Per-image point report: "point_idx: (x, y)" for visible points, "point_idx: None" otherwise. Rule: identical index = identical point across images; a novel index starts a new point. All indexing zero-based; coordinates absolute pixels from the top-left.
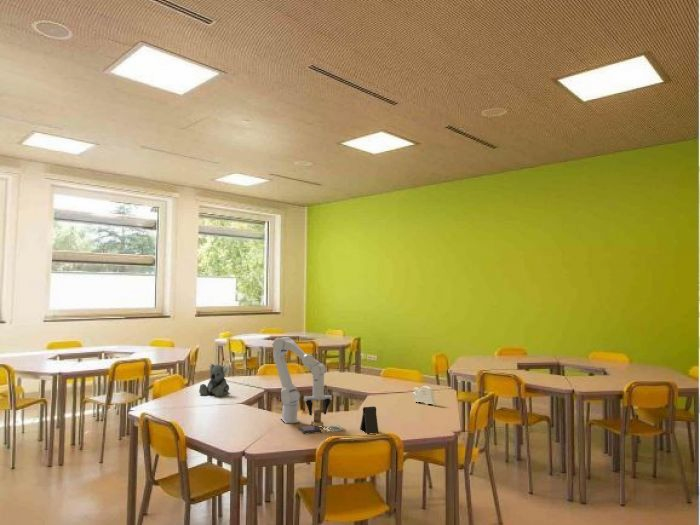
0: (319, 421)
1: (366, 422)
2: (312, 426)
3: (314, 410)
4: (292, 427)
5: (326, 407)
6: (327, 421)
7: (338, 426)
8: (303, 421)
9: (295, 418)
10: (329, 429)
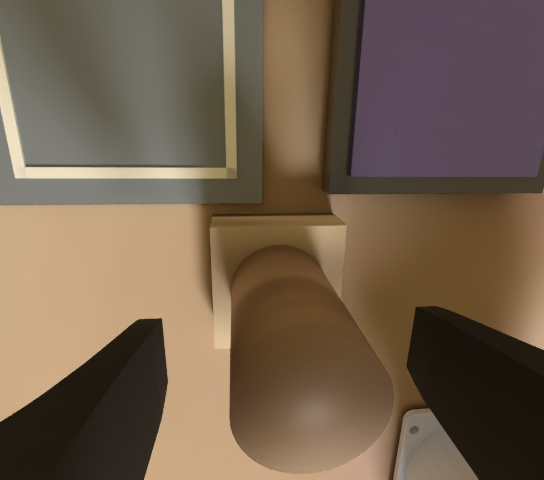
0: (265, 251)
1: None
2: (399, 135)
3: (389, 391)
4: (540, 267)
5: (70, 406)
6: None
7: (7, 123)
8: None
9: (457, 452)
10: (182, 14)
